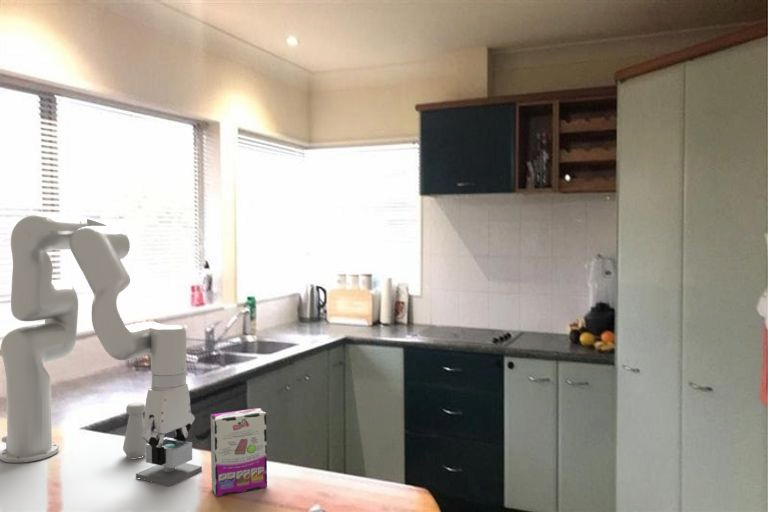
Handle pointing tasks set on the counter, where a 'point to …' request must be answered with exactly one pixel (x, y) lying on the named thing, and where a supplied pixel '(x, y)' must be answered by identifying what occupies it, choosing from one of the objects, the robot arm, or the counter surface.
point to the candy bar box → (238, 451)
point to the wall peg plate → (169, 472)
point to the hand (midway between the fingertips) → (169, 458)
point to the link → (173, 452)
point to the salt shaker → (135, 431)
